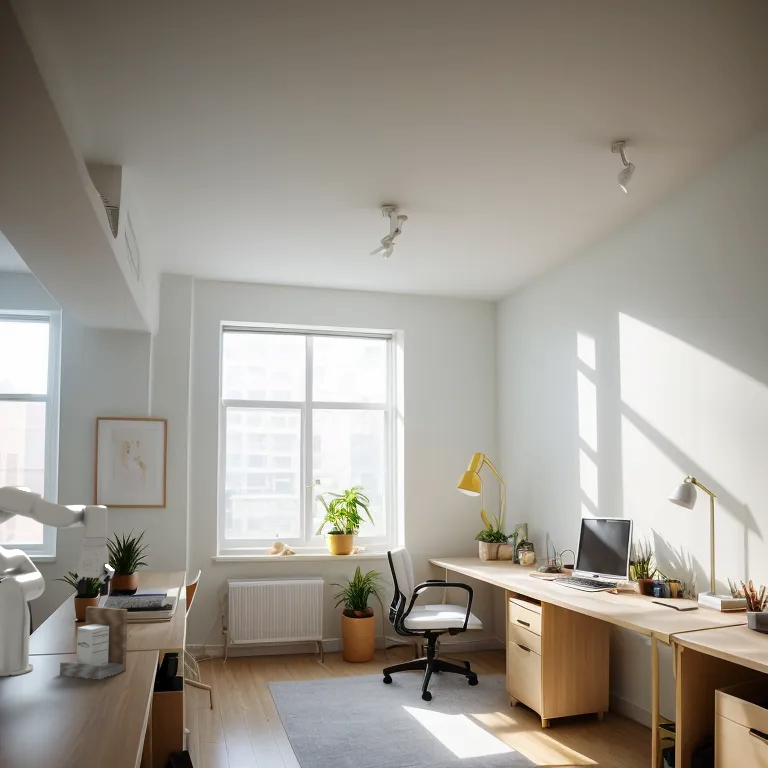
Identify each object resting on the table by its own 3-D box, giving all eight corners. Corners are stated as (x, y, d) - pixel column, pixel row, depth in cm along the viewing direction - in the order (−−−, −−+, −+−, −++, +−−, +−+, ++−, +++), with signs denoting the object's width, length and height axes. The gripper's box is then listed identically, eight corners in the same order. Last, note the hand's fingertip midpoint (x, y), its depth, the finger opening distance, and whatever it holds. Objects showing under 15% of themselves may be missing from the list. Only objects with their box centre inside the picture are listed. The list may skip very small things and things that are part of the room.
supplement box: (75, 666, 250) (76, 627, 252) (95, 661, 257) (95, 623, 258) (89, 669, 246) (90, 629, 248) (109, 664, 253) (109, 625, 254)
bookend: (59, 674, 250) (61, 612, 252) (87, 666, 261) (89, 606, 263) (99, 679, 243) (100, 615, 245) (126, 670, 254) (127, 609, 256)
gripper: (66, 542, 256) (64, 594, 254) (105, 544, 249) (104, 598, 247) (83, 540, 263) (82, 591, 261) (122, 542, 256) (120, 594, 254)
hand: (92, 594), depth 254 cm, fingers open, 9 cm apart
